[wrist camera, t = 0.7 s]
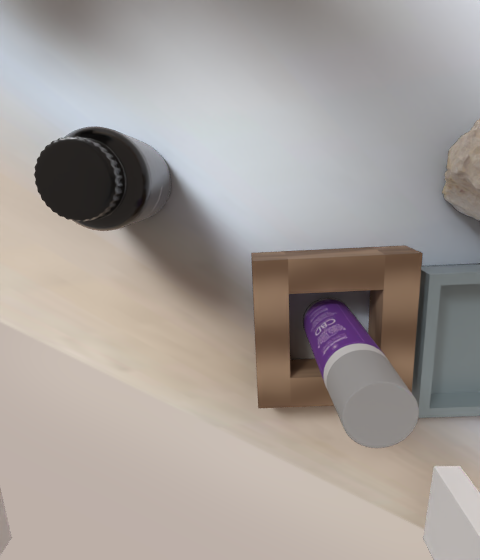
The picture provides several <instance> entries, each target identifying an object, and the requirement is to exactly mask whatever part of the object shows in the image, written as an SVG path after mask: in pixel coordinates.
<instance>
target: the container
mask: <svg viewBox="0 0 480 560" xmlns="http://www.w3.org/2000/svg"><path fill="white" fill-rule="evenodd" d="M303 326H304V330H305V332H306V335H307V338H308V340H309V343H310V346H311V348H312V351H313V354H314V356H315V359H316V362H317V364H318V367H319V370H320V372H321V375H322V378H323V380H324V383H325V385H326V388H327V390H328V392H329V395H330V397H331V399H332V402H333V404H334V406H335V409H336V411H337V413H338V416H339V418H340V420H341V422H342V425H343V427H344V429H345V431H346V433H347V434H348V436H349V437H350V438H351V439H352V440H354V441H355V442H357V443H358V444H360V445H363V446H366V447H370V448H384V447H389V446H392V445H395V444H397V443H399V442H401V441H402V440H404V439H405V438H406V437H407V436H408V435H409V434H410V433H411V432H412V431H413V429H414V428H415V426H416V424H417V421H418V416H419V408H418V404H417V401H416V399H415V397H414V396H413V394H412V393H411V391H410V390H409V389H408V387H407V386H406V384H405V383H404V382H403V380H402V379H401V377H400V376H399V374H398V373H397V372H396V370H395V369H394V367H393V366H392V365H391V363H390V362H389V360H388V359H387V357H386V356H385V354H384V353H383V352H382V351H381V349H380V348H379V347H378V345H377V344H376V343H375V342H374V340H373V339H372V338H371V337H370V335H369V334H368V333H367V331H366V330H365V329H364V328H363V326H362V325H361V324H360V322H359V321H358V320H357V319H356V317H355V316H354V315H353V313H352V312H351V311H350V310H349V308H348V307H347V306H346V305H345V304H344V303H343V302H341V301H339V300H337V299H334V298H323V299H320V300H317V301H315V302H314V303H312V304H311V305H310V306H309V307H308V308H307V310H306V312H305V314H304V317H303Z"/></svg>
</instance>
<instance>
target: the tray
mask: <svg viewBox="0 0 480 560" xmlns="http://www.w3.org/2000/svg"><path fill="white" fill-rule="evenodd" d="M412 394H413V396H414V397H415V399H416V401H417V404H418V408H419V416H418V418H430V417H460V416H480V263H478V264H457V265H435V266H421V278H420V291H419V304H418V317H417V330H416V343H415V356H414V369H413V382H412Z"/></svg>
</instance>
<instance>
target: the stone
mask: <svg viewBox="0 0 480 560" xmlns="http://www.w3.org/2000/svg"><path fill="white" fill-rule="evenodd" d="M446 168H447V171H446V173H445V180H446V183H445V186H444V188H443V191H442V193H443V194H444V198H445V200H447V201H448V202H449V203H451V204H452V205H453V207H454V208H455V209H456V210H457V211H459V212H461V213H463V214H465V215H467V216H471V217H472V218H474V219H476V220H478V221H480V119H479V120H477V121H476V122H475V124H474V126H473V127H472V128H471V130H470V131H469V132H468V133H465V134H464V135H462V136H461V137H460V138H459V139H458V140H457V142H456V143H455V144H454V145H453V146H452V147H451V148H450V150H449V152H448V161H447V167H446Z"/></svg>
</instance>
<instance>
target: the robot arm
mask: <svg viewBox="0 0 480 560" xmlns="http://www.w3.org/2000/svg"><path fill="white" fill-rule="evenodd" d="M11 538H12V537H11V532H10V528H9V524H8V520H7V515H6V511H5V506H4V502H3V498H2V493H1V489H0V555H1V554H2V552H3V550H4V549H5V548H6V546H7V545H8V543H9V541H10V540H11ZM423 539H424V541H425V543H426V545H427V548H428V550H429V552H430V554H431V556H432V558H433V560H480V492H479V491H478V490H477V488H476V487H475V486H474V484H473V483H472V482H471V480H470V479H469V477H468V476H467V475H466V473H465V472H464V471H463V469H462V468H461V467H460V466H434V468H433V475H432V482H431V489H430V495H429V502H428V509H427V516H426V522H425V529H424V536H423Z"/></svg>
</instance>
